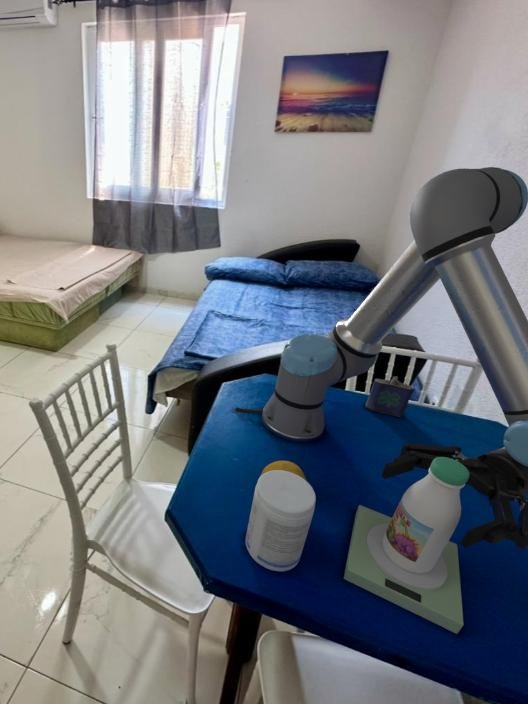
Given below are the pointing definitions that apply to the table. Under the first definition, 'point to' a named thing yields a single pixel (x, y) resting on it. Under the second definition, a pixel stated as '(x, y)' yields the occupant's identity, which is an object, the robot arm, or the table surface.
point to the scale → (404, 574)
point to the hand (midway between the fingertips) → (422, 502)
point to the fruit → (284, 468)
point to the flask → (389, 396)
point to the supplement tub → (279, 519)
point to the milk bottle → (426, 517)
